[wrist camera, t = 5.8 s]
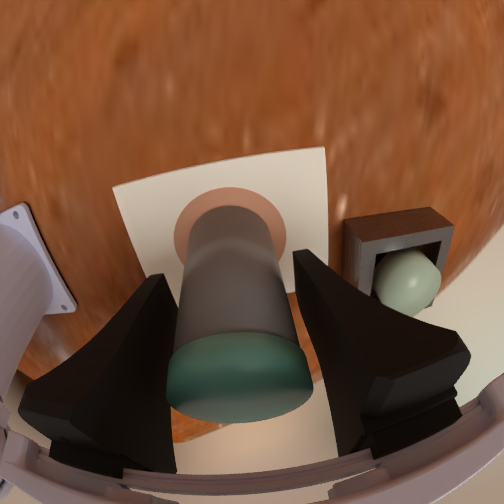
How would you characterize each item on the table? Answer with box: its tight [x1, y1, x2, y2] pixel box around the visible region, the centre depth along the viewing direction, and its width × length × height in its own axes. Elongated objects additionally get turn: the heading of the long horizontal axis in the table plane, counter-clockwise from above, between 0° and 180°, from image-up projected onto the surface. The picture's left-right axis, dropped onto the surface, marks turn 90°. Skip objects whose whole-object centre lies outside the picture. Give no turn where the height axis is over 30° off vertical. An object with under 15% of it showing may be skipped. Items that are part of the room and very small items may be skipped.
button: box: [372, 246, 441, 317], centre depth 13 cm, size 4×4×2 cm
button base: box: [342, 207, 454, 309], centre depth 14 cm, size 6×6×2 cm
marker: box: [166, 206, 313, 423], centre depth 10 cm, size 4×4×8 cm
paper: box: [112, 146, 328, 306], centre depth 14 cm, size 10×8×1 cm
